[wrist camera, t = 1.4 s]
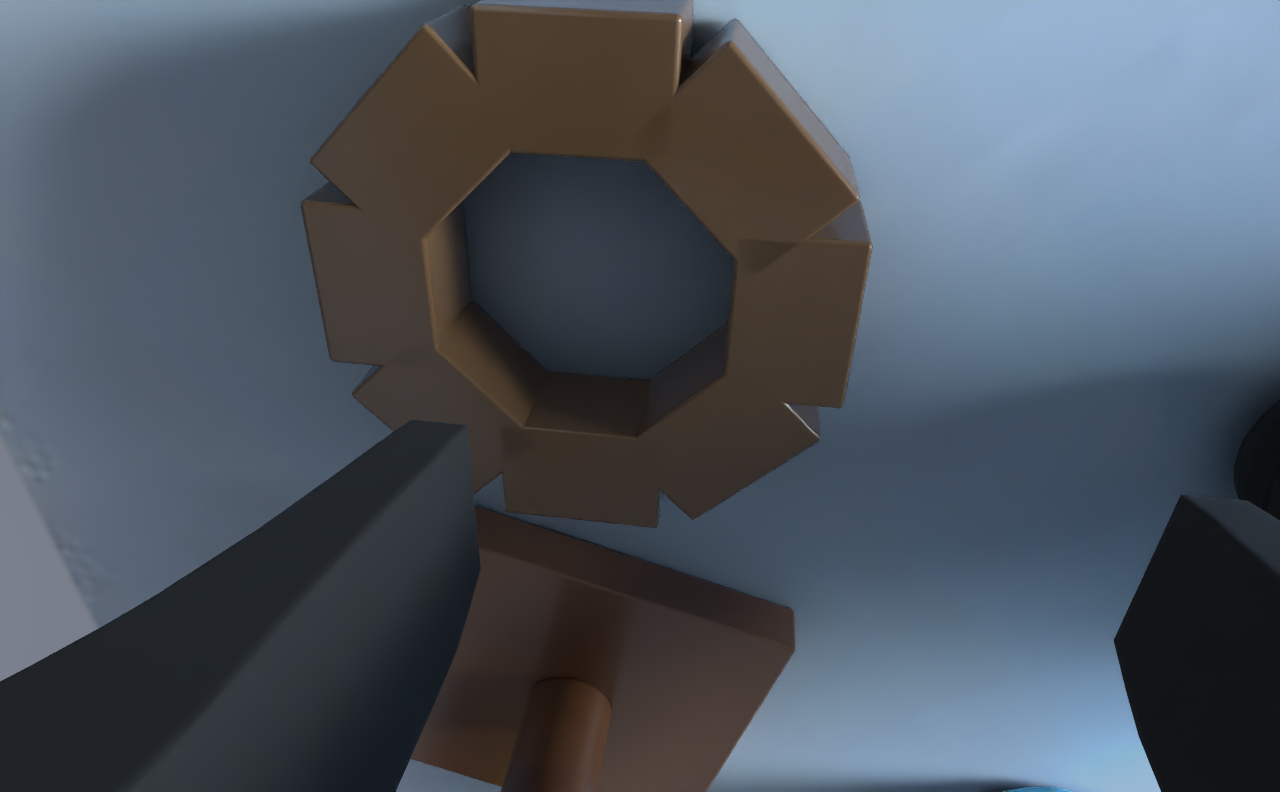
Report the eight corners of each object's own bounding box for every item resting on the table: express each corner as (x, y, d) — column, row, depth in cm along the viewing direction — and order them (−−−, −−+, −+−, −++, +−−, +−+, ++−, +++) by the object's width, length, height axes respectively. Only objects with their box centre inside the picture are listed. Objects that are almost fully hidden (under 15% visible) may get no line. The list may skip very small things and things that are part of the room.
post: (795, 608, 19) (803, 858, 14) (680, 800, 24) (656, 1040, 19) (453, 496, 19) (344, 715, 14) (399, 712, 23) (302, 936, 18)
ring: (393, 437, 18) (354, 496, 16) (321, -24, 13) (257, -7, 12) (814, 479, 17) (818, 546, 16) (895, 3, 13) (914, 26, 11)
